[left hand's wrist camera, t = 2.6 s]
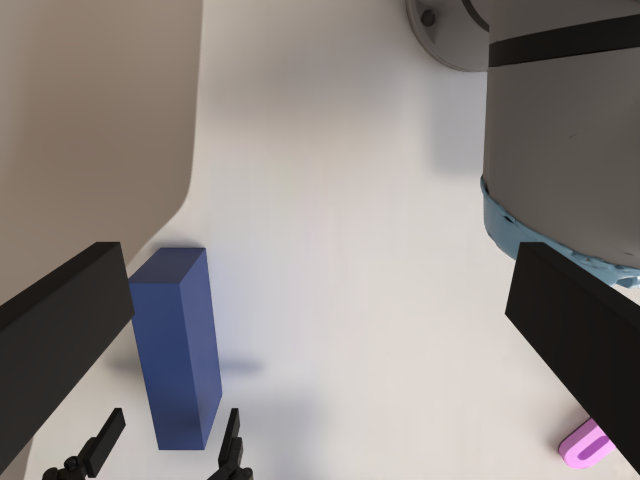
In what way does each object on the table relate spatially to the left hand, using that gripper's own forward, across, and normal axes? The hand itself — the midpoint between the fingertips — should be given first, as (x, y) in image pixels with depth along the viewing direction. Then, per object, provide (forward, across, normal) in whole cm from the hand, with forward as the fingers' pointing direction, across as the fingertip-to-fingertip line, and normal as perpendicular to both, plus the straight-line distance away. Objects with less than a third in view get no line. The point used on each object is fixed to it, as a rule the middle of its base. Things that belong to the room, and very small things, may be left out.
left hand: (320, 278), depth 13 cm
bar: (+30, -17, -23) cm, 42 cm away
